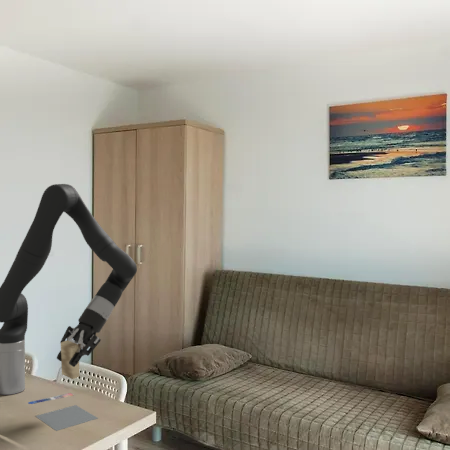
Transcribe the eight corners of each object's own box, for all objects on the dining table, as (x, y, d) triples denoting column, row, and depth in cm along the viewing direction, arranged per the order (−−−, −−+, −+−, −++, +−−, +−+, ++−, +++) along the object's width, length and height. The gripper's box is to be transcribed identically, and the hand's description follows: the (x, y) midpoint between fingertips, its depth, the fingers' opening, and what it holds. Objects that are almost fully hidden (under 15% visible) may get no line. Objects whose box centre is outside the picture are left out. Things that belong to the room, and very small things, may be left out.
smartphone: (80, 398, 169) (33, 409, 160) (80, 401, 169) (33, 412, 160) (71, 392, 175) (25, 402, 165) (71, 395, 175) (25, 405, 166)
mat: (35, 417, 155) (35, 415, 155) (75, 406, 163) (75, 404, 163) (56, 432, 144) (56, 430, 144) (98, 420, 153) (98, 418, 153)
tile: (61, 374, 157) (60, 342, 156) (68, 371, 159) (67, 340, 157) (73, 379, 154) (71, 346, 152) (80, 376, 156) (78, 344, 154)
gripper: (75, 303, 164) (42, 351, 156) (104, 312, 155) (72, 363, 147) (89, 315, 169) (58, 362, 161) (118, 324, 160) (88, 374, 152)
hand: (65, 362), depth 154 cm, fingers closed on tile, 5 cm apart
